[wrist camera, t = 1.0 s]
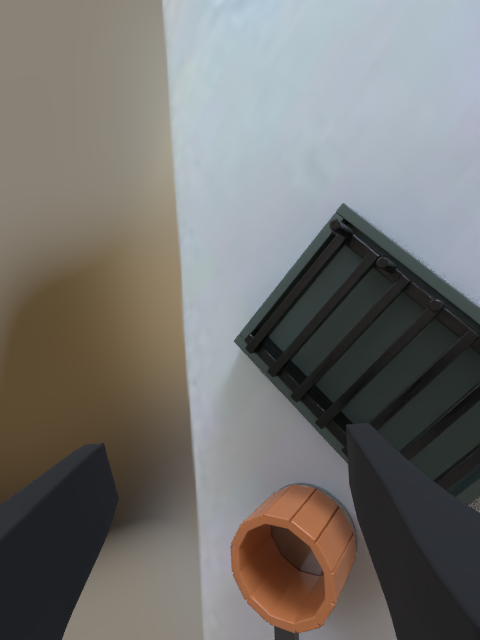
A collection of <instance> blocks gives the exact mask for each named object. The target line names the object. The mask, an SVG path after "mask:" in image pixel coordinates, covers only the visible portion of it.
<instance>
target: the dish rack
mask: <svg viewBox="0 0 480 640" xmlns="http://www.w3.org/2000/svg"><path fill="white" fill-rule="evenodd" d="M234 342H235V343H236V344H237V345H238V346H239V347H240V348H241V349H242V351H243V352H244V353H245V354H246V355H247V356H248V357H249V358H250V359H251V360H252V361H253V362H254V363H255V364H256V366H257V367H258V368H259V369H260V370H261V371H262V372H263V373H264V374H265V375H266V376H267V377H268V378H269V379H270V381H271V382H272V383H273V384H274V385H275V386H276V387H277V388H278V389H279V390H280V391H281V392H282V393H283V394H284V396H285V397H286V398H287V399H288V400H289V401H290V402H291V403H292V404H293V405H294V406H295V407H296V408H297V409H298V411H299V412H300V413H301V414H302V415H303V416H304V417H305V418H306V419H307V420H308V421H309V422H310V423H311V424H312V426H313V427H314V428H315V429H316V430H317V431H318V432H319V433H320V434H321V435H322V436H323V437H324V438H325V440H326V441H327V442H328V443H329V444H330V445H331V446H332V447H333V448H334V449H335V450H336V451H337V452H338V453H339V455H340V456H341V457H342V458H343V459H344V460H345V461H346V462H347V463H348V449H347V432H346V425H347V424H360V423H369V424H370V425H371V426H372V427H373V428H374V429H375V430H376V431H377V432H378V433H379V434H380V435H381V436H383V437H384V438H385V439H386V440H387V441H388V442H389V443H390V444H391V445H392V446H393V447H394V448H395V449H396V450H397V451H398V452H399V453H401V454H402V455H403V456H404V457H405V458H406V459H407V460H409V461H410V462H411V463H412V464H413V465H414V466H415V467H417V468H418V469H419V470H420V471H421V472H423V473H424V474H425V475H426V476H427V477H429V478H430V479H431V480H433V481H434V482H435V483H436V484H438V485H439V486H440V487H442V488H443V489H444V490H446V491H447V492H449V493H450V494H451V495H453V496H454V497H456V498H457V499H459V500H460V501H462V502H463V503H465V504H466V505H469V504H470V503H471V502H473V501H474V500H475V499H477V498H478V497H479V496H480V307H478V306H477V305H476V304H475V303H473V302H472V301H471V300H469V299H468V298H467V297H465V296H464V295H463V294H462V293H460V292H459V291H458V290H456V289H455V288H454V287H452V286H451V285H450V284H449V283H447V282H446V281H445V280H443V279H442V278H441V277H439V276H438V275H437V274H436V273H434V272H433V271H432V270H430V269H429V268H428V267H426V266H425V265H424V264H423V263H421V262H420V261H419V260H417V259H416V258H415V257H413V256H412V255H411V254H410V253H408V252H407V251H406V250H404V249H403V248H402V247H400V246H399V245H398V244H397V243H395V242H394V241H393V240H391V239H390V238H389V237H387V236H386V235H385V234H384V233H382V232H381V231H380V230H378V229H377V228H376V227H374V226H373V225H372V224H371V223H369V222H368V221H367V220H365V219H364V218H363V217H361V216H360V215H359V214H358V213H356V212H355V211H354V210H352V209H351V208H350V207H348V206H347V205H346V204H345V203H343V204H342V205H341V206H340V207H339V209H338V210H337V211H336V213H335V214H334V215H333V216H332V218H331V219H330V220H329V221H328V223H327V224H326V225H325V226H324V228H323V229H322V230H321V231H320V233H319V234H318V235H317V237H316V238H315V239H314V240H313V242H312V243H311V244H310V245H309V247H308V248H307V249H306V250H305V252H304V253H303V254H302V255H301V257H300V258H299V259H298V260H297V262H296V263H295V264H294V266H293V267H292V268H291V269H290V271H289V272H288V273H287V274H286V276H285V277H284V278H283V279H282V281H281V282H280V283H279V284H278V286H277V287H276V288H275V290H274V291H273V292H272V293H271V295H270V296H269V297H268V298H267V300H266V301H265V302H264V303H263V305H262V306H261V307H260V308H259V310H258V311H257V312H256V314H255V315H254V316H253V317H252V319H251V320H250V321H249V322H248V324H247V325H246V326H245V327H244V329H243V330H242V331H241V332H240V334H239V335H238V336H237V337H236V339H235V340H234Z"/></svg>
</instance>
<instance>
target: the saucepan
mask: <svg viewBox="0 0 480 640" xmlns="http://www.w3.org/2000/svg"><path fill="white" fill-rule="evenodd" d="M231 544H232V545H231V562H232V572H234V573H233V576H234V578H235V580H236V582H237V584H238V586H239V588H240V591H241V593H242V595H243V597H244V599H245V600H247V599H248V600H247V603H248V604H249V605H250V606H251V607H252V608H253V609H254V610H255V611H256V612H257V613H258V614H259V615H260V616H261V617H262V618H263V619H264V620H265V621H266V622H269V621H270V624H271V625H273V626H274V629H275V640H299V633H301V632H305V631H309V630H313V629H317V628H320V627H321V626H323V624H324V623H325V621H326V619H327V618H328V616H329V615H330V613H331V611H332V610H333V608H334V607H335V605H336V602H337V600H338V598H339V596H340V593H341V591H342V589H343V587H344V584H345V582H346V580H347V578H348V575H349V573H350V571H351V569H352V566H353V564H354V562H355V558H356V552H357V536H356V531H355V528H354V525H353V522H352V520H351V518H350V516H349V514H348V513H347V511H346V509H345V508H344V507H343V506H342V504H341V503H340V502H339V501H338V500H337V499H336V498H335V497H334V496H332V495H331V494H330V493H328V492H327V491H325V490H324V489H322V488H320V487H317V486H314V485H311V484H307V483H294V484H289V485H287V486H284V487H283V488H281V489H280V490H278V491H277V492H274V493H273V494H272V495H271V496H270V497H269V498H268V499H267V500H266V501H265V502H264V503H263V504H262V505H261V506H260V507H259V508H258V509H257V510H255V511H254V512H253V513H252V514H251V515H250V516H249V517H248V518H247V519H246V520H245V521H244V522H243V523H242V524H241V525H240V527H239V529H238V531H237V533H236V535H235V537H234V539H233V541H232V543H231Z"/></svg>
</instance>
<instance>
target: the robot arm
mask: <svg viewBox="0 0 480 640" xmlns="http://www.w3.org/2000/svg"><path fill="white" fill-rule="evenodd" d="M346 432H347V449H348V467H349V484H350V489H351V493H352V498H353V502H354V506H355V511H356V515H357V519H358V522H359V525H360V528H361V530H362V533H363V536H364V539H365V542H366V545H367V548H368V550H369V553H370V556H371V559H372V562H373V564H374V567H375V570H376V573H377V576H378V579H379V581H380V584H381V587H382V590H383V593H384V596H385V598H386V601H387V605H388V608H389V611H390V614H391V617H392V621H393V625H394V629H395V632H396V636H397V640H480V513H479V512H477V511H476V510H474V509H473V508H471V507H469V506H468V505H466V504H465V503H463V502H462V501H460V500H459V499H457V498H456V497H454V496H453V495H451V494H450V493H449V492H447V491H446V490H444V489H443V488H442V487H440V486H439V485H438V484H436V483H435V482H434V481H433V480H431V479H430V478H429V477H427V476H426V475H425V474H424V473H423V472H421V471H420V470H419V469H418V468H417V467H415V466H414V465H413V464H412V463H411V462H410V461H409V460H407V459H406V458H405V457H404V456H403V455H402V454H401V453H399V452H398V451H397V450H396V449H395V448H394V447H393V446H392V445H391V444H390V443H389V442H388V441H387V440H386V439H385V438H384V437H383V436H381V435H380V434H379V433H378V432H377V431H376V430H375V429H374V428H373V427H372V426H371V425H370V424H369V423H360V424H347V425H346ZM118 499H119V498H118V494H117V491H116V486H115V483H114V479H113V476H112V472H111V468H110V464H109V461H108V457H107V453H106V449H105V446H104V443H101V444H88V445H83V446H82V447H80V448H79V449H77V450H76V451H74V452H73V453H71V454H70V455H68V456H67V457H66V458H64V459H63V460H61V461H60V462H59V463H57V464H56V465H55V466H53V467H52V468H51V469H49V470H48V471H47V472H45V473H44V474H43V475H41V476H40V477H38V478H37V479H36V480H34V481H33V482H32V483H30V484H29V485H27V486H26V487H25V488H23V489H22V490H21V491H19V492H18V493H16V494H15V495H13V496H12V497H10V498H9V499H7V500H6V501H4V502H3V503H2V504H0V640H62V638H63V635H64V632H65V629H66V627H67V624H68V622H69V619H70V617H71V615H72V612H73V610H74V608H75V605H76V603H77V601H78V599H79V597H80V595H81V592H82V590H83V588H84V586H85V583H86V581H87V579H88V577H89V575H90V573H91V570H92V568H93V566H94V564H95V562H96V559H97V557H98V555H99V553H100V550H101V548H102V546H103V544H104V542H105V539H106V537H107V535H108V532H109V529H110V526H111V523H112V520H113V517H114V513H115V510H116V506H117V503H118Z"/></svg>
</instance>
